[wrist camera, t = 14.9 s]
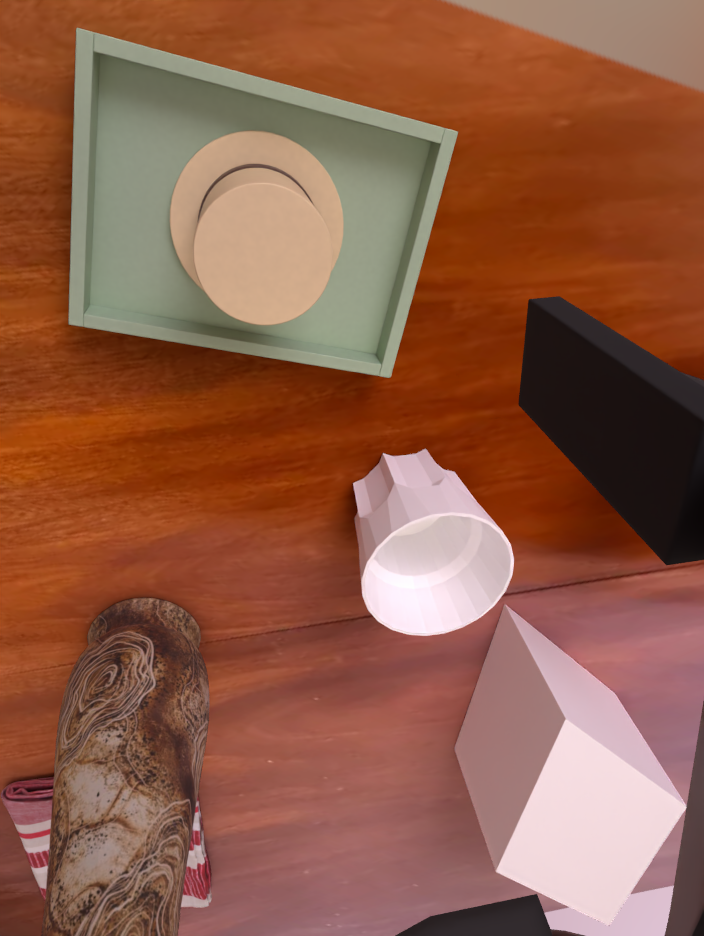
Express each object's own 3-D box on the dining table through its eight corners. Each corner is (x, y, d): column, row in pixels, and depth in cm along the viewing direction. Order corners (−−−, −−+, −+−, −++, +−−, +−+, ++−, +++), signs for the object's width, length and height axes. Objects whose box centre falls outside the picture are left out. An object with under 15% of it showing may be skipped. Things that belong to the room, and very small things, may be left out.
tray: (77, 311, 39) (68, 324, 37) (86, 31, 33) (75, 27, 30) (382, 363, 44) (390, 378, 42) (445, 129, 37) (458, 131, 35)
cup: (342, 554, 52) (363, 644, 43) (337, 445, 47) (360, 523, 38) (462, 539, 53) (506, 624, 45) (470, 431, 48) (520, 504, 39)
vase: (102, 575, 49) (-38, 1098, 24) (235, 608, 53) (237, 1092, 27) (66, 668, 53) (-88, 1202, 28) (191, 693, 57) (157, 1184, 31)
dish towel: (194, 755, 61) (192, 780, 59) (214, 888, 73) (214, 914, 70) (3, 778, 58) (-6, 805, 56) (57, 912, 70) (51, 940, 68)
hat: (134, 233, 37) (110, 268, 30) (244, 86, 34) (247, 84, 27) (269, 341, 41) (277, 395, 34) (376, 219, 39) (409, 248, 31)
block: (597, 571, 57) (680, 679, 47) (627, 785, 75) (691, 898, 65) (411, 636, 58) (452, 758, 47) (486, 833, 76) (527, 953, 65)
